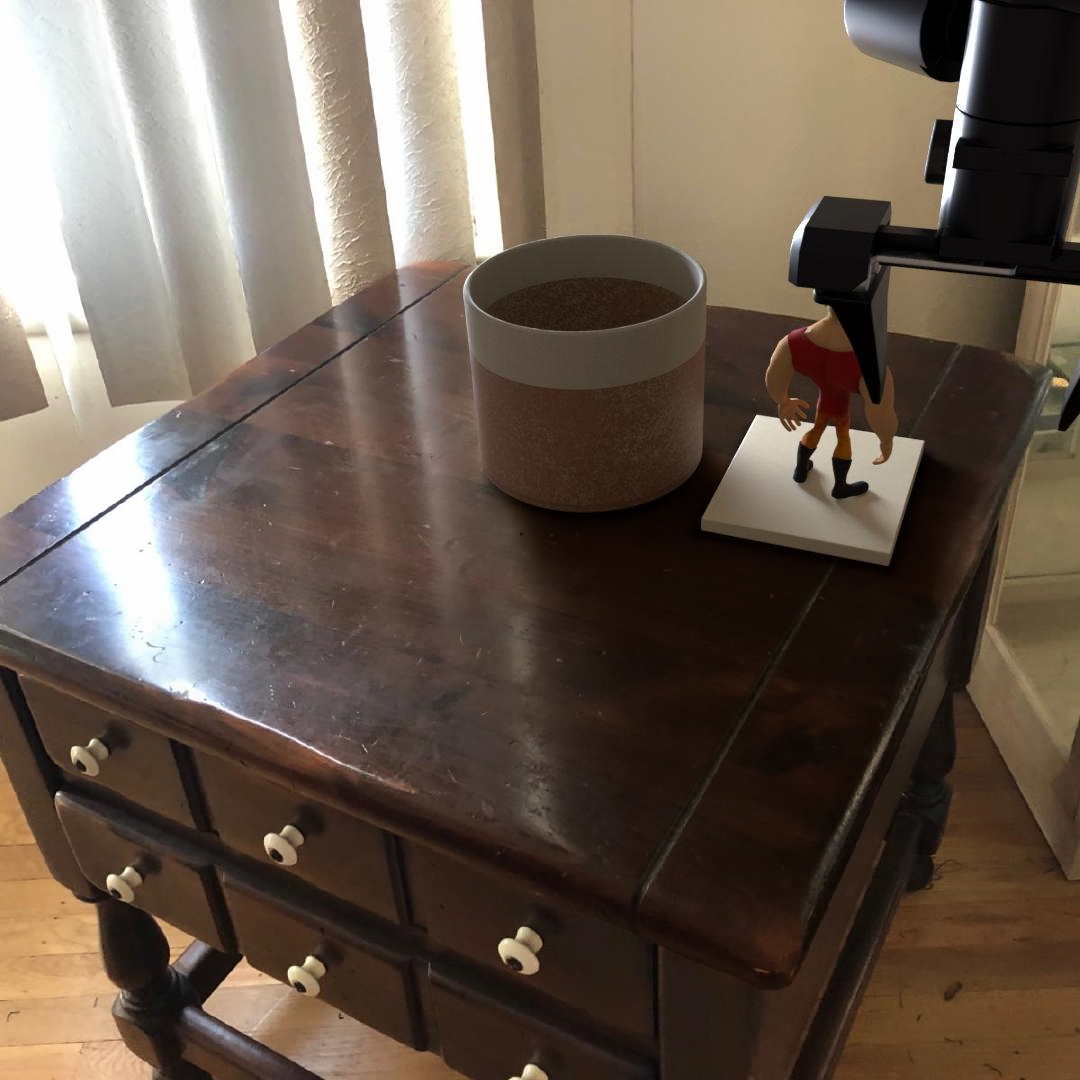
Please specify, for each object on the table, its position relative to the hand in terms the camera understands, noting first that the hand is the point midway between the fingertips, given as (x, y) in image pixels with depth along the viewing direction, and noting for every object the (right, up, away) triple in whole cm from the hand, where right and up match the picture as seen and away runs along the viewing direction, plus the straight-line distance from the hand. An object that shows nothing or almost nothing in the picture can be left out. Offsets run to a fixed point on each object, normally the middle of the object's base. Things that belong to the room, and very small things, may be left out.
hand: (967, 413), depth 60 cm
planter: (-19, -1, +23) cm, 30 cm away
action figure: (-3, -3, +17) cm, 17 cm away
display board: (-4, -3, +18) cm, 19 cm away
